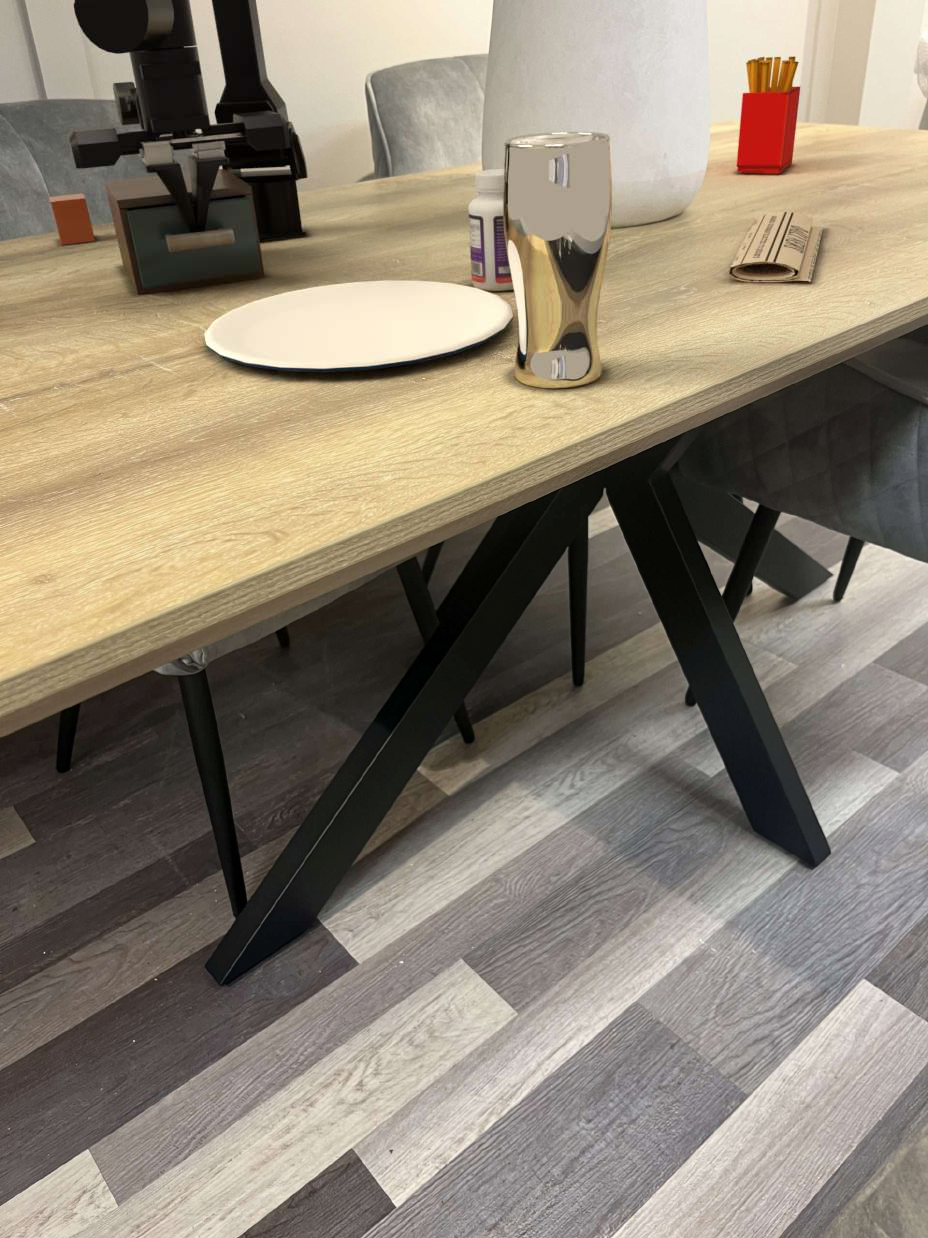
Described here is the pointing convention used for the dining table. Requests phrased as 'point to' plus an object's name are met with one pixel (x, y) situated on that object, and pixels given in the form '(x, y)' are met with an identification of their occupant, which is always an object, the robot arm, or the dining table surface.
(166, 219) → the drawer
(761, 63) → the french fries container
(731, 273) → the newspaper
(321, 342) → the plate
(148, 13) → the robot arm
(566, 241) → the beer glass
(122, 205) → the cabinet
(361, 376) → the dining table surface
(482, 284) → the pill bottle
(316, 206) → the dining table surface
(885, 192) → the dining table surface
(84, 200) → the block
